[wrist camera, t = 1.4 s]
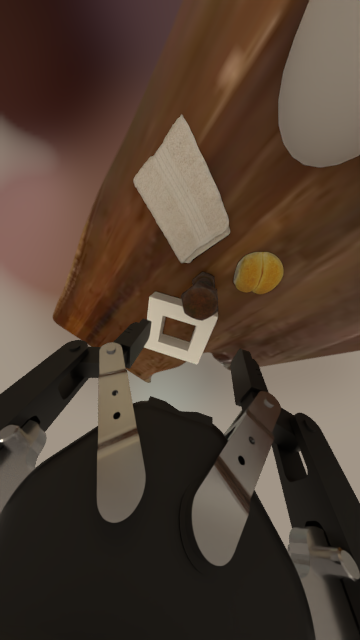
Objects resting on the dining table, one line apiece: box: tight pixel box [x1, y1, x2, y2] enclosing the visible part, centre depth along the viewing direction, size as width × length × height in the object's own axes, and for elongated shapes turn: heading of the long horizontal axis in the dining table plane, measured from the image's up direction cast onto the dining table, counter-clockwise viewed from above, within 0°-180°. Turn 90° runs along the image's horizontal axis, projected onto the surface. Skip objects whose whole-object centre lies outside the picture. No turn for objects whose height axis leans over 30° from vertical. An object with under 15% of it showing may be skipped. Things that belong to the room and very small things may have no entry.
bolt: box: [181, 272, 218, 321], centre depth 26 cm, size 6×5×15 cm
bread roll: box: [233, 252, 283, 294], centre depth 28 cm, size 8×9×4 cm
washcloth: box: [134, 115, 230, 263], centre depth 26 cm, size 12×18×3 cm, turn 35°
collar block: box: [144, 292, 218, 364], centre depth 39 cm, size 17×17×4 cm
